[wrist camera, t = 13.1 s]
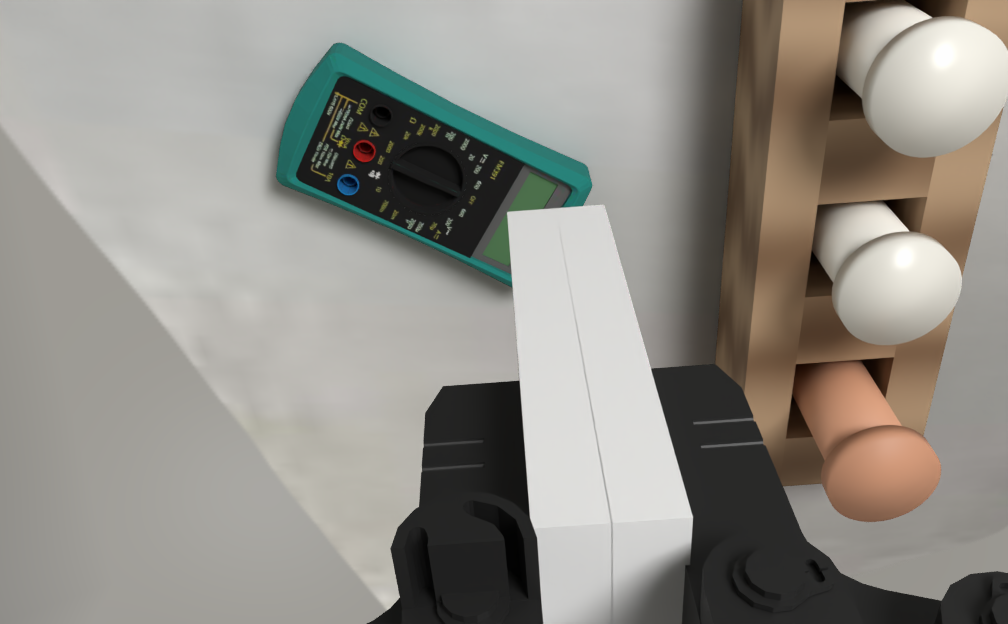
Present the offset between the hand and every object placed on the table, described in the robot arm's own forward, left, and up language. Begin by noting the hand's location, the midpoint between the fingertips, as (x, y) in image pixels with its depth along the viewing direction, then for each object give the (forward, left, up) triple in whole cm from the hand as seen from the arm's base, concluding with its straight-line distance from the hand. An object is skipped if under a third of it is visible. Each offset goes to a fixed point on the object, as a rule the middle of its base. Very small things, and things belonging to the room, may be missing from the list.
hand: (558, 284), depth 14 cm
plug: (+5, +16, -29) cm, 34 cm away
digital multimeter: (+11, -4, -31) cm, 33 cm away
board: (+14, +16, -30) cm, 37 cm away
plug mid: (+14, +16, -29) cm, 36 cm away
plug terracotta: (+23, +16, -27) cm, 39 cm away
